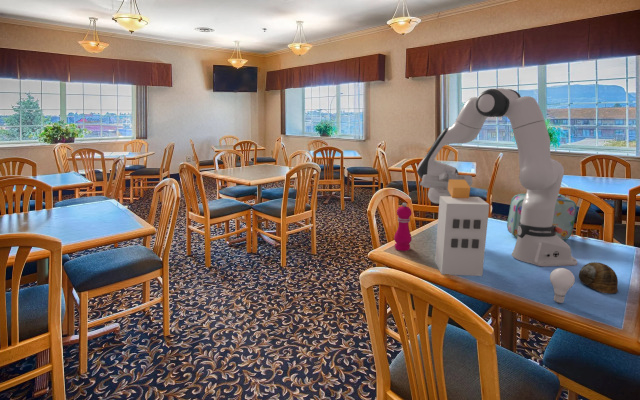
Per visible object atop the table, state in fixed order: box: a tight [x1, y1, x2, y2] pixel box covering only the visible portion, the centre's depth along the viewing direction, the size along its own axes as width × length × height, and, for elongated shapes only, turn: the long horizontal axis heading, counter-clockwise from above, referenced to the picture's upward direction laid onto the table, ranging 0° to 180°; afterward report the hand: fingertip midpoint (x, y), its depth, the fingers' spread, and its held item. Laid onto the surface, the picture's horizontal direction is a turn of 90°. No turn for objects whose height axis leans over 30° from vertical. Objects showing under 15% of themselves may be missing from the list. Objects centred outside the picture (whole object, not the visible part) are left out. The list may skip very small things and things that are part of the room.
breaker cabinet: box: [434, 195, 490, 277], centre depth 139 cm, size 14×13×26 cm
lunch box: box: [506, 193, 577, 242], centre depth 175 cm, size 27×10×21 cm, turn 85°
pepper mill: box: [393, 202, 412, 252], centre depth 161 cm, size 7×7×20 cm
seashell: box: [578, 261, 619, 295], centre depth 127 cm, size 11×9×8 cm
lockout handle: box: [446, 170, 471, 198], centre depth 149 cm, size 6×22×4 cm, turn 175°
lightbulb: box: [549, 267, 576, 304], centre depth 116 cm, size 6×6×11 cm
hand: (450, 174), depth 156 cm, fingers closed on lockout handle, 2 cm apart
